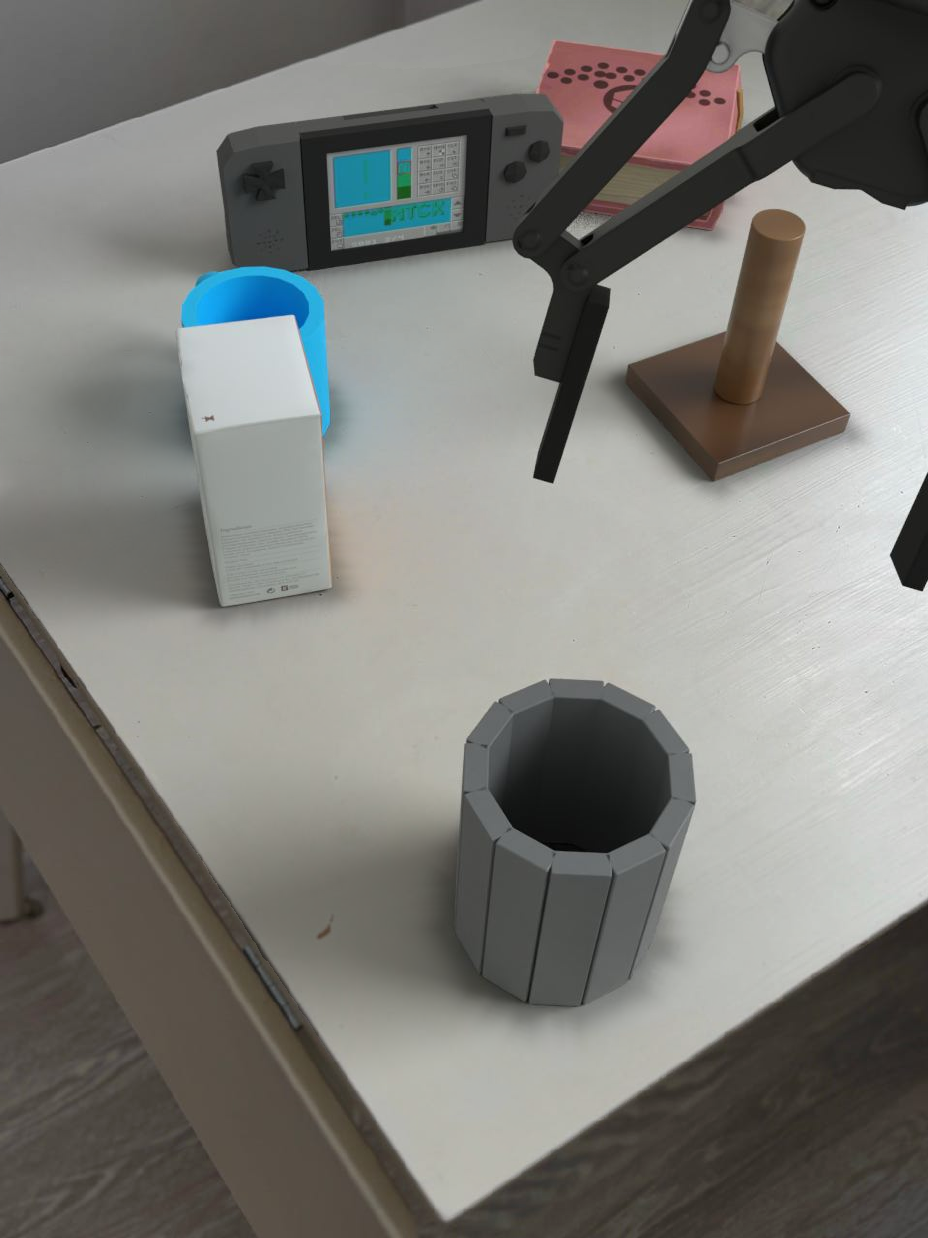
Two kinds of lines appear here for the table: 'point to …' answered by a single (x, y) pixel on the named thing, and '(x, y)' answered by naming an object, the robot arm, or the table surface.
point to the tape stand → (743, 369)
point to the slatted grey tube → (568, 838)
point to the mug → (265, 311)
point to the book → (704, 120)
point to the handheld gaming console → (386, 181)
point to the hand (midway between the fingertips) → (725, 521)
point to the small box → (257, 457)
